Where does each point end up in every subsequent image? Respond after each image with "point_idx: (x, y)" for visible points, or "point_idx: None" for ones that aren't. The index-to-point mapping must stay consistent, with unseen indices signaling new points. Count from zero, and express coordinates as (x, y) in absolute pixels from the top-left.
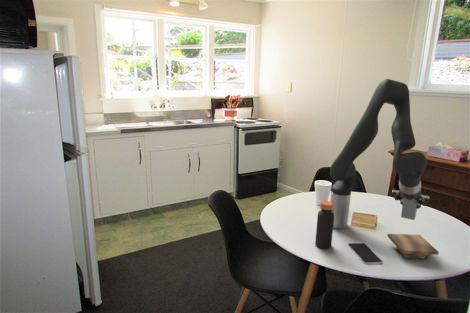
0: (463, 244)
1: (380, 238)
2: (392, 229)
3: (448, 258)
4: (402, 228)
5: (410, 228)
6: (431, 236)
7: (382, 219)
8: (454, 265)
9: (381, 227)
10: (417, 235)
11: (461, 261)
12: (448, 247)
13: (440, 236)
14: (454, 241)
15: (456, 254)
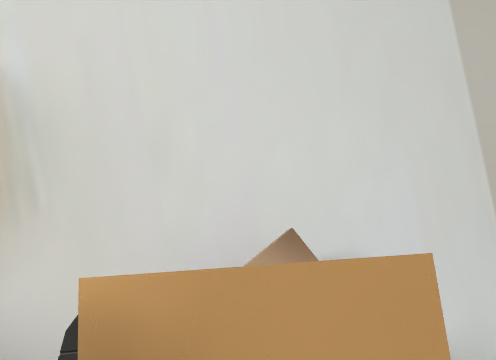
0: (454, 63)
1: (55, 325)
2: (98, 123)
3: (439, 293)
4: (150, 66)
5: (191, 36)
6: (311, 70)
7: (6, 8)
8: (480, 357)
9: (25, 140)
10: (281, 251)
11: (492, 278)
12: (409, 152)
13: (348, 39)
14: (415, 56)
15: (457, 210)
